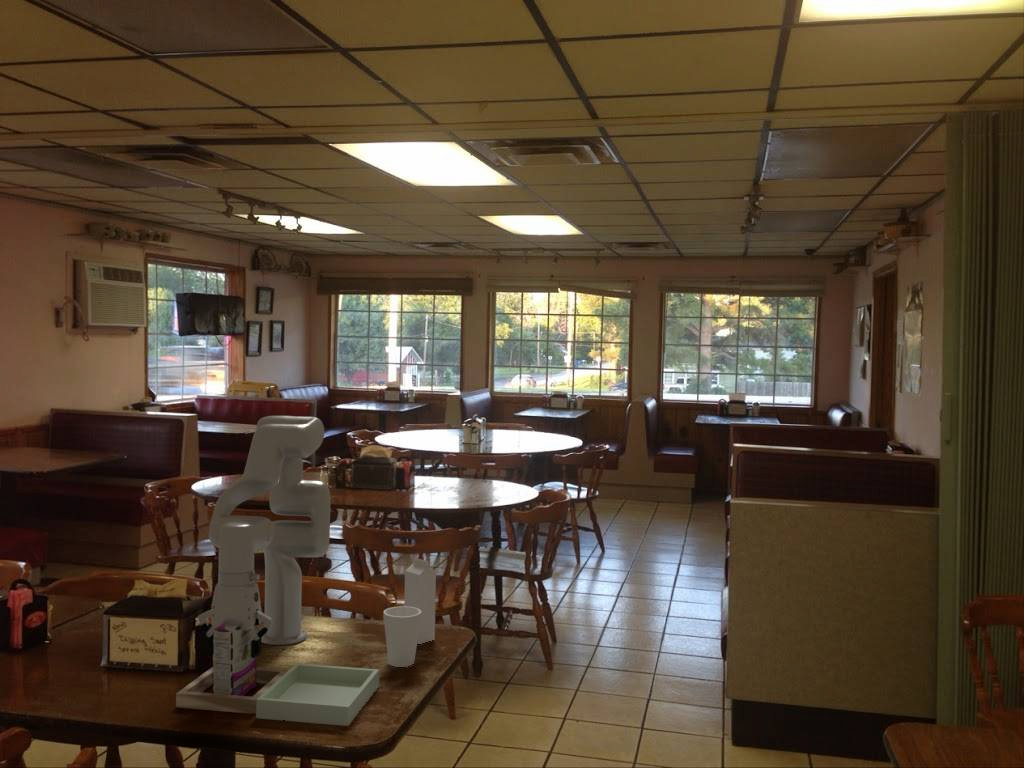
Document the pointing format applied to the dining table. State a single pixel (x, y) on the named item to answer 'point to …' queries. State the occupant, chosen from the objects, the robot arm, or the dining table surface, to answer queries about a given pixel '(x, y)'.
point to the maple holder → (221, 702)
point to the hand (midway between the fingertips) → (234, 654)
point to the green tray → (318, 694)
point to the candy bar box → (233, 661)
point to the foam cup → (401, 634)
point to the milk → (422, 596)
